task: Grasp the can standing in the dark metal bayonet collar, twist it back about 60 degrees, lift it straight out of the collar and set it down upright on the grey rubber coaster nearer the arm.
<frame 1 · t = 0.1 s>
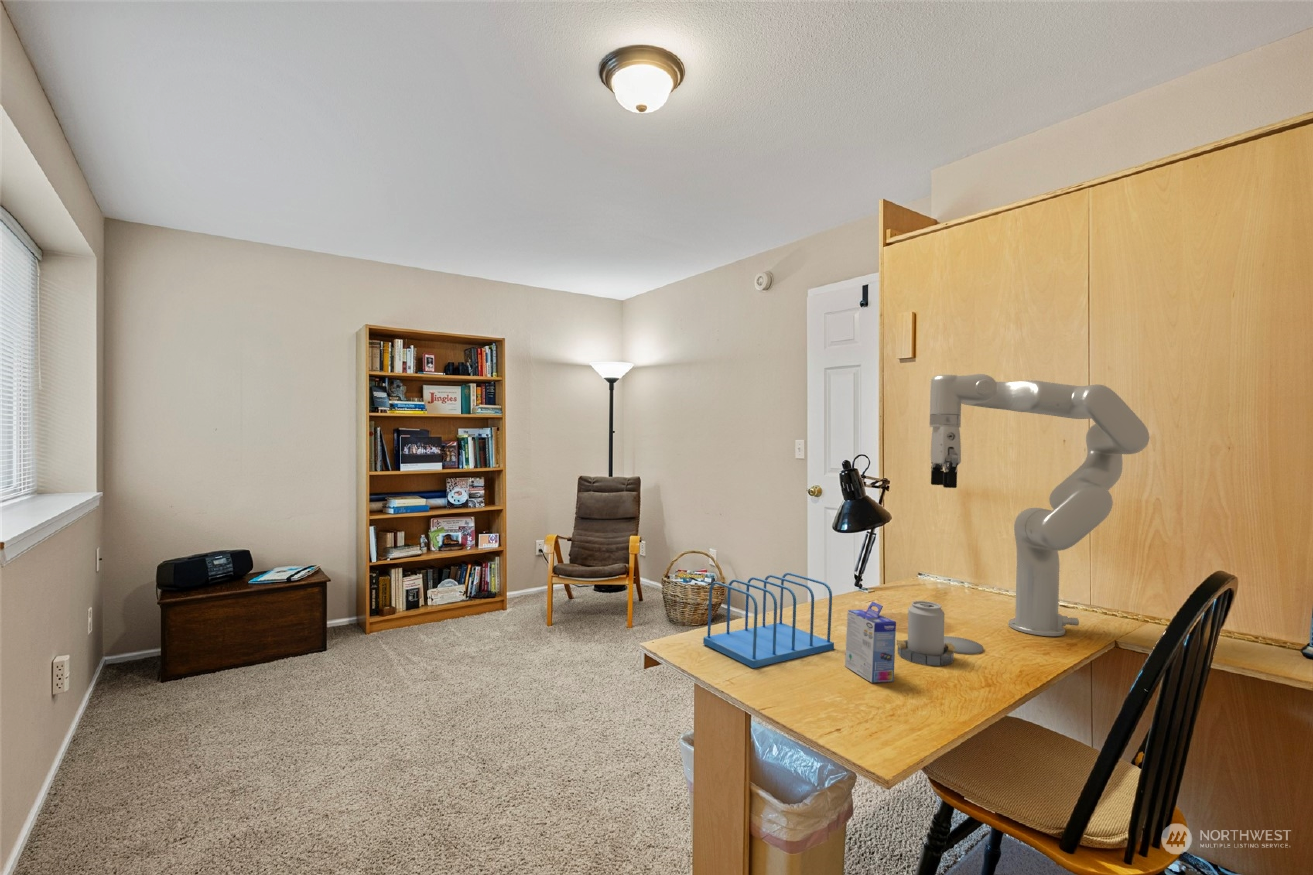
hand: (943, 486, 165), 37 cm above the table, tool pointing down, fingers open, 9 cm apart
file sorter: (768, 648, 144), on the table
collar: (925, 656, 139), on the table
ink cartridge box: (869, 675, 128), on the table
can: (925, 657, 139), resting in collar
coaster: (957, 646, 147), on the table
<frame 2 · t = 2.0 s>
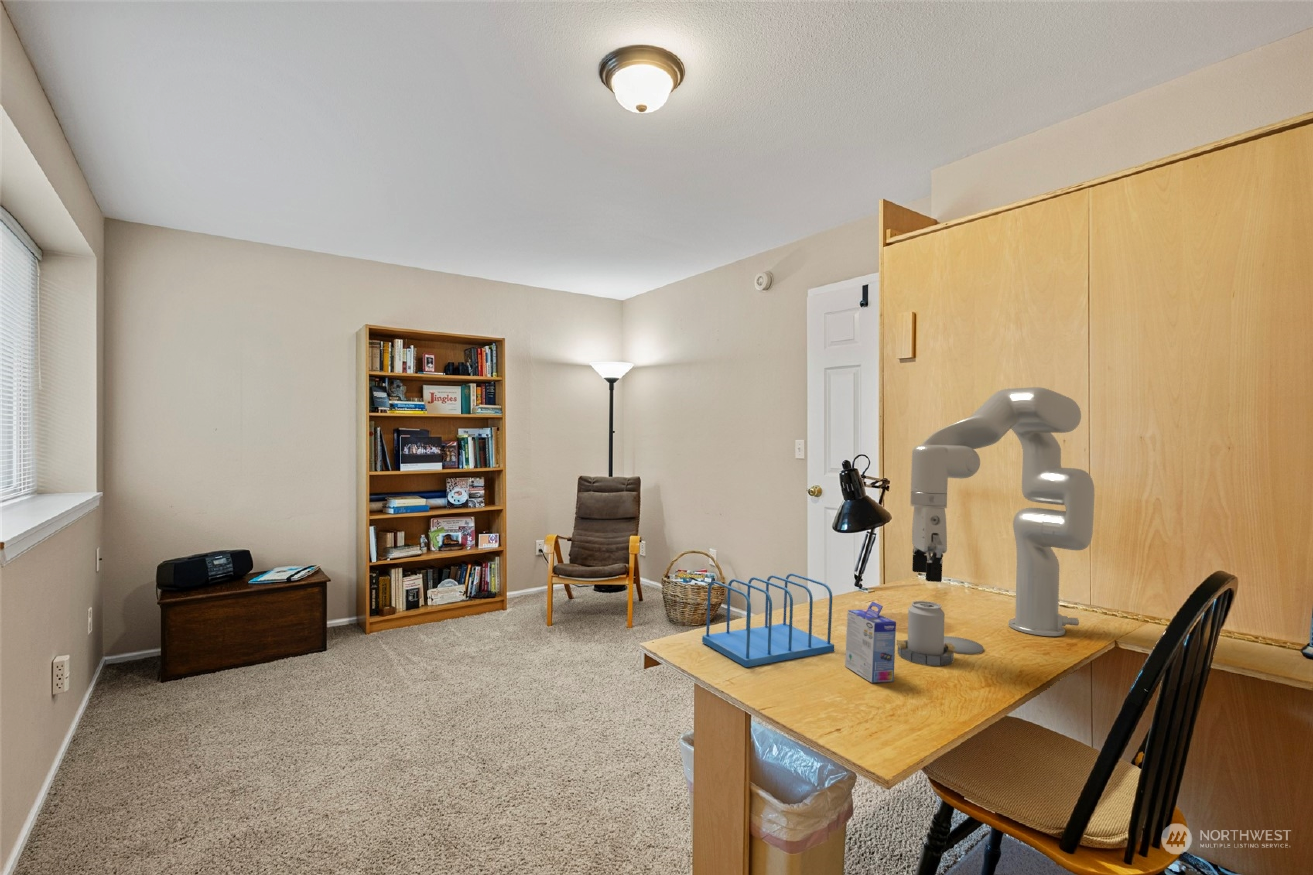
hand: (926, 576, 139), 18 cm above the table, tool pointing down, fingers open, 9 cm apart
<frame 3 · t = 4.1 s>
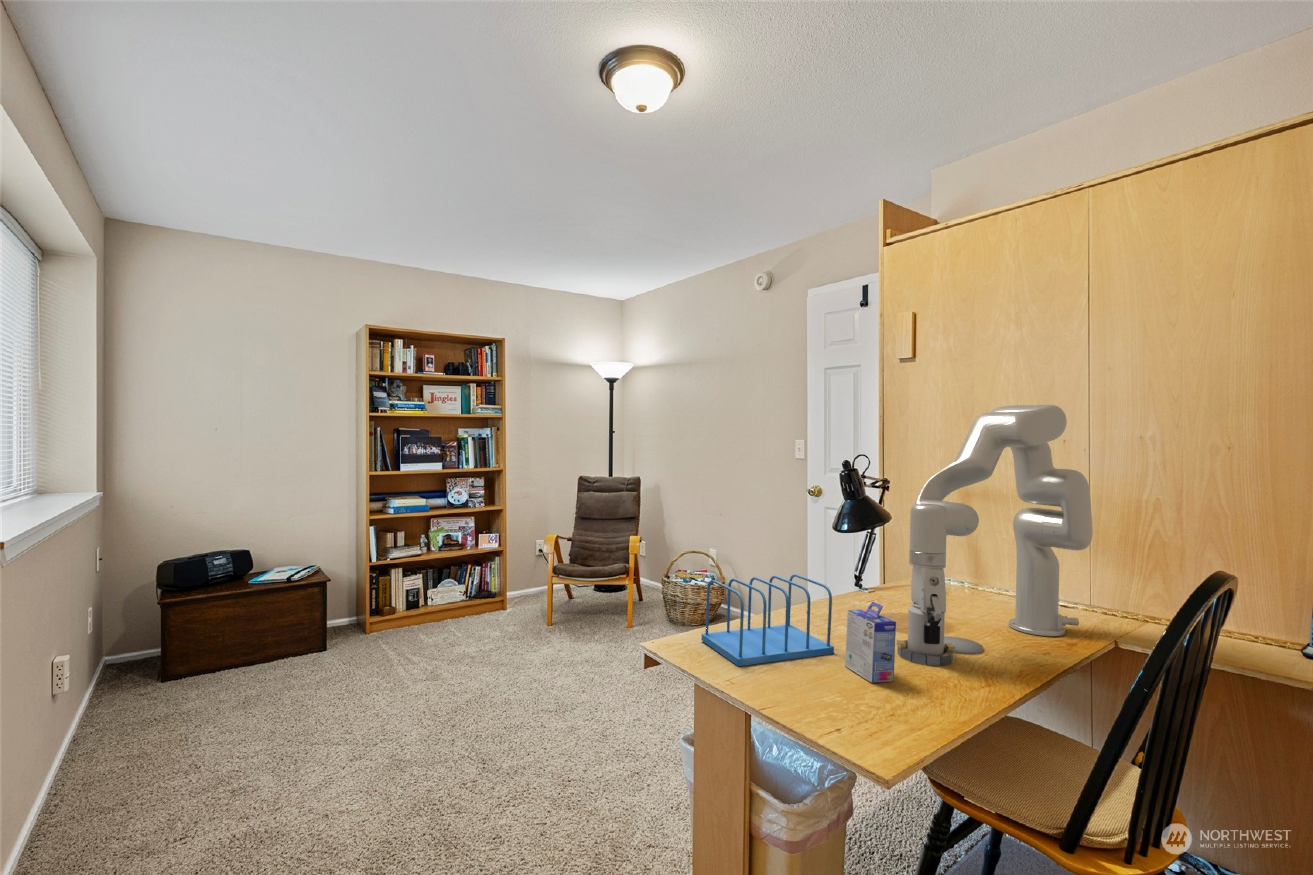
hand: (925, 637, 139), 4 cm above the table, tool pointing down, fingers closed on can, 7 cm apart
can: (925, 657, 139), resting in collar, touching gripper
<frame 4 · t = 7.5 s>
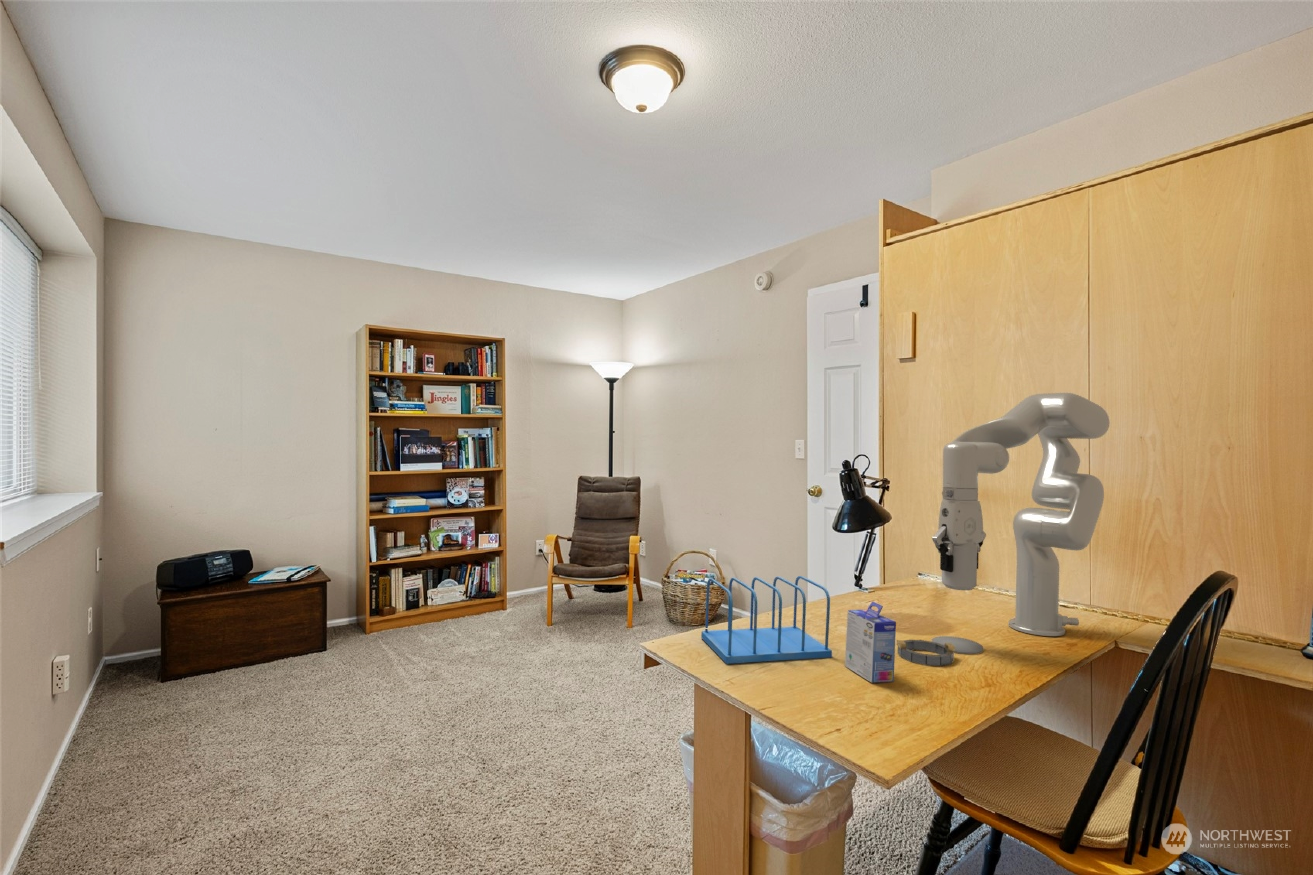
hand: (959, 569, 147), 18 cm above the table, tool pointing down, fingers closed on can, 7 cm apart
can: (958, 588, 147), point 14 cm above the table, touching gripper
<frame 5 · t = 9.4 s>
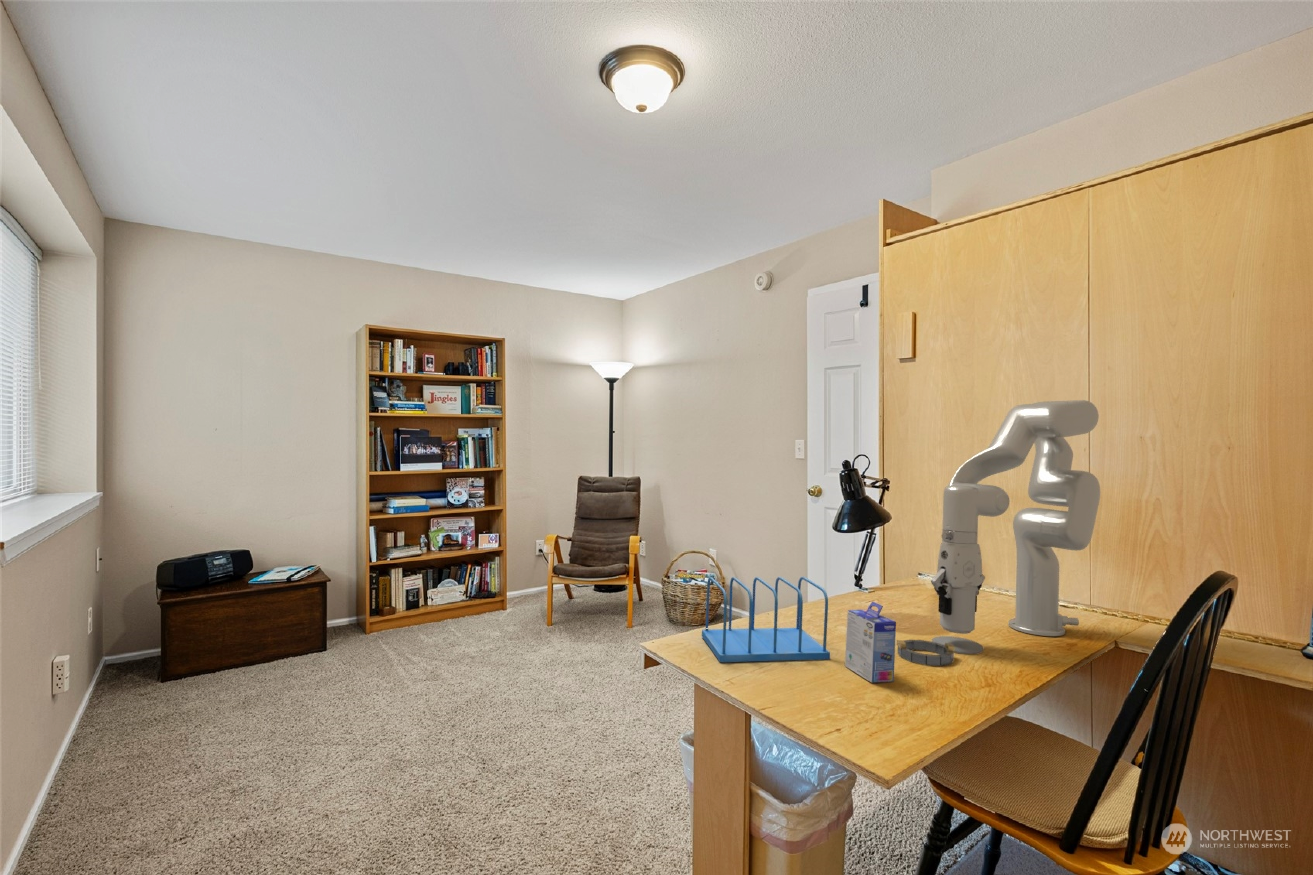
hand: (957, 611, 147), 8 cm above the table, tool pointing down, fingers closed on can, 7 cm apart
can: (956, 630, 147), point 4 cm above the table, touching gripper
when the fingers open (6 cm above the table, at t = 10.9 s): can stays where it is, resting on coaster.
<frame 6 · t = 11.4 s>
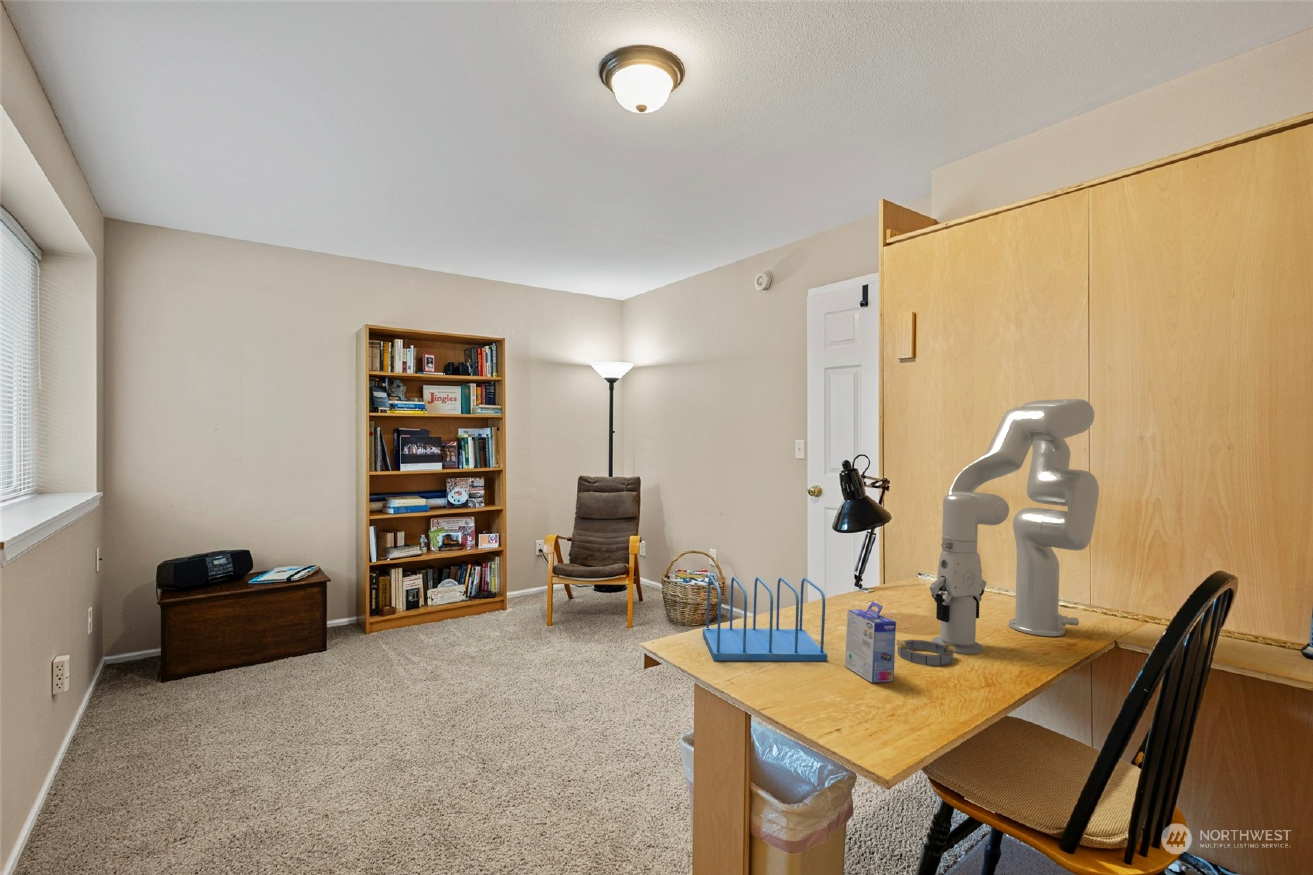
hand: (957, 618, 147), 6 cm above the table, tool pointing down, fingers open, 9 cm apart
can: (957, 644, 147), resting on coaster
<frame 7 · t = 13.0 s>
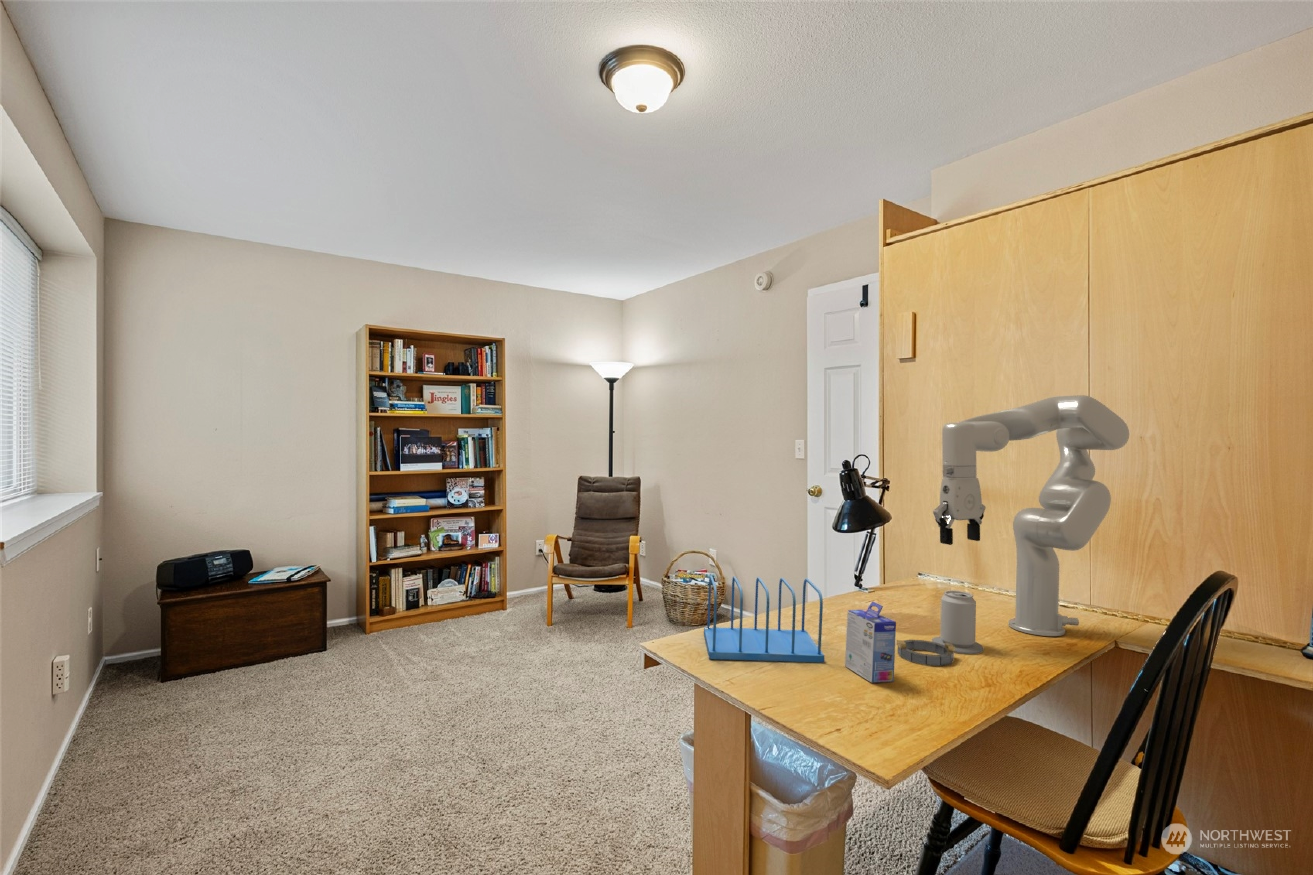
hand: (960, 541, 153), 24 cm above the table, tool pointing down, fingers open, 9 cm apart
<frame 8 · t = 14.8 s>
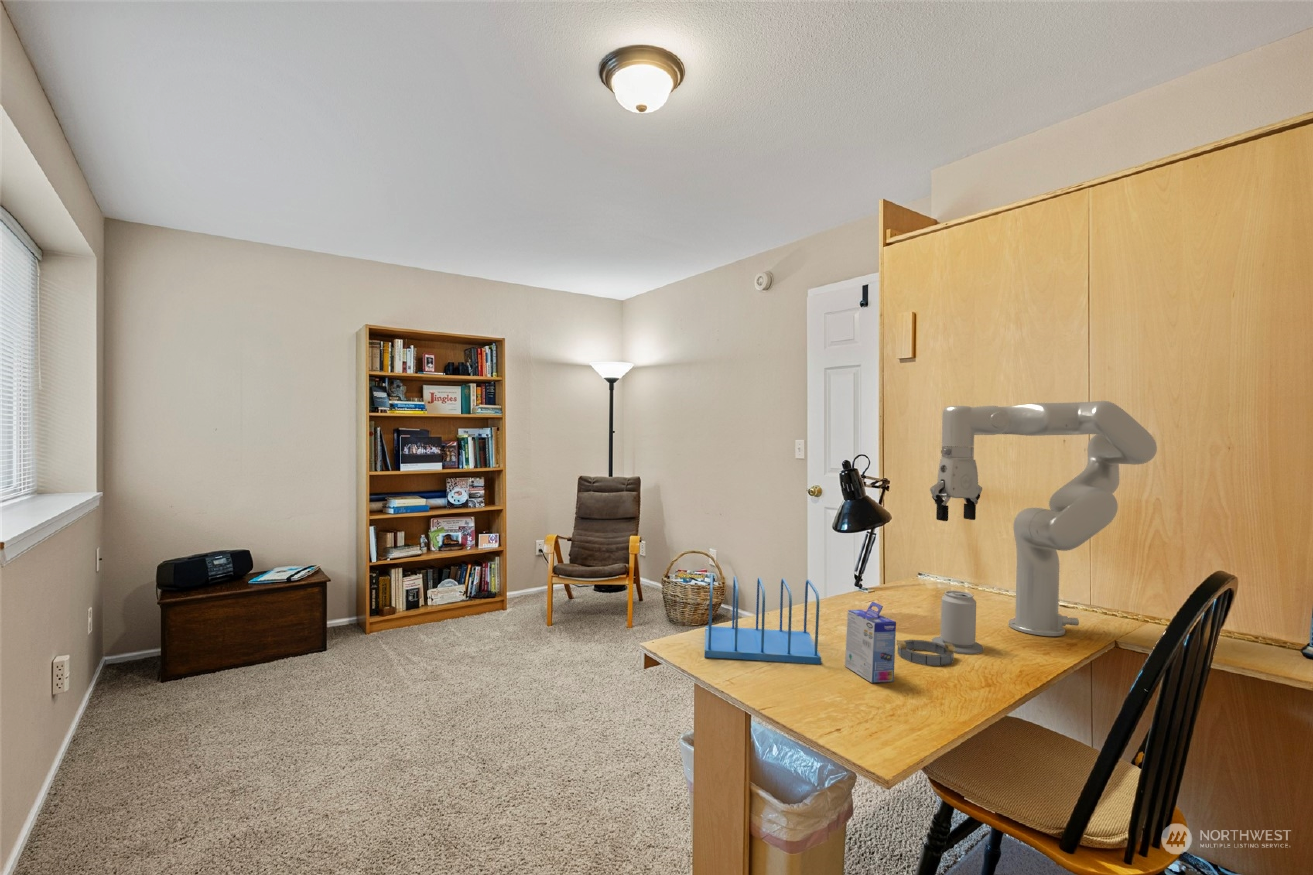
hand: (955, 519, 161), 28 cm above the table, tool pointing down, fingers open, 9 cm apart
at the end: can 0.3 cm from the coaster (horizontally); can tilted 0°; the gripper is holding nothing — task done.
